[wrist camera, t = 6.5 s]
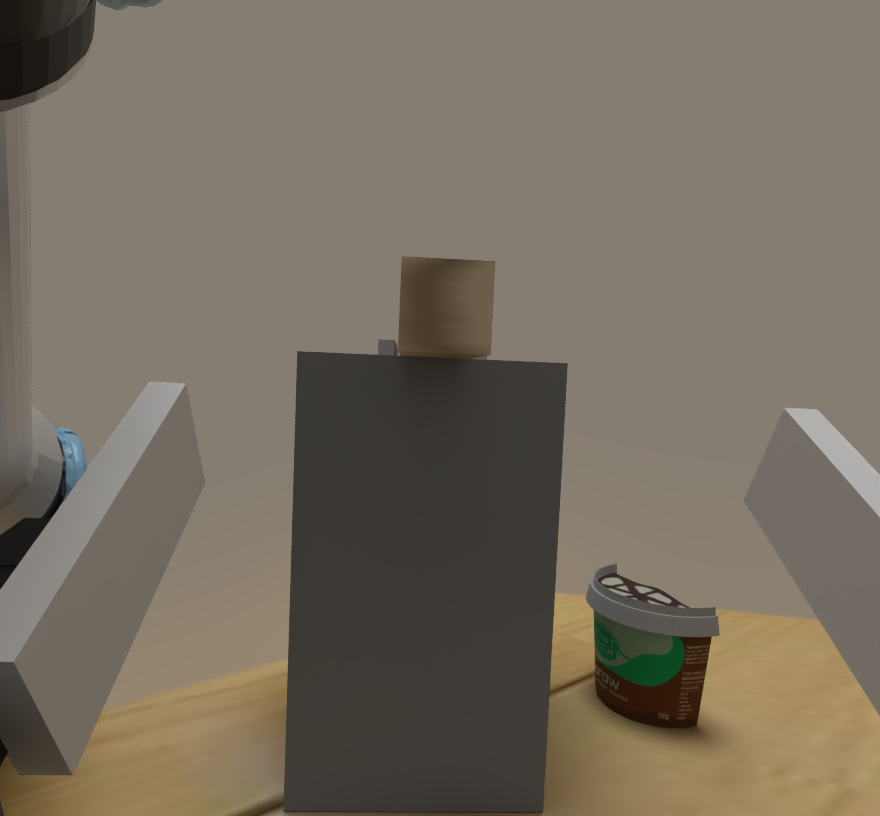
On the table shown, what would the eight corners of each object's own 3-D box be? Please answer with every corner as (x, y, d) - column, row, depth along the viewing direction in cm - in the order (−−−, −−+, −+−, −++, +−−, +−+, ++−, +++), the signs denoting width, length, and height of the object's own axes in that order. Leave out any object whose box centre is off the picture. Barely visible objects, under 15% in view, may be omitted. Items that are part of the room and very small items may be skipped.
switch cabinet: (283, 811, 38) (297, 334, 36) (325, 661, 57) (335, 346, 55) (542, 812, 39) (568, 346, 37) (497, 664, 58) (512, 354, 56)
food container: (552, 675, 57) (558, 567, 56) (605, 664, 59) (612, 561, 59) (652, 753, 45) (661, 619, 45) (712, 735, 48) (721, 609, 47)
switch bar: (397, 350, 27) (401, 256, 26) (402, 360, 52) (404, 312, 52) (490, 355, 27) (495, 261, 27) (449, 362, 53) (451, 314, 52)
